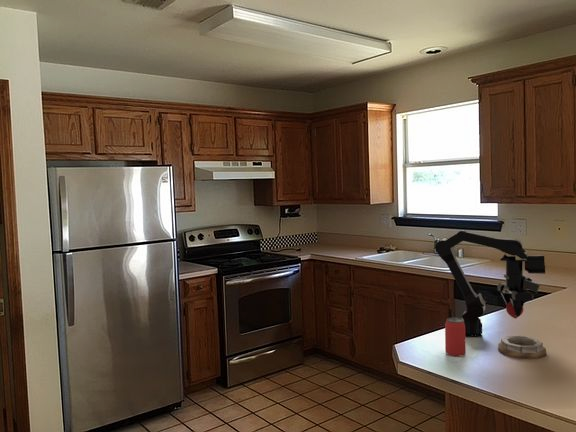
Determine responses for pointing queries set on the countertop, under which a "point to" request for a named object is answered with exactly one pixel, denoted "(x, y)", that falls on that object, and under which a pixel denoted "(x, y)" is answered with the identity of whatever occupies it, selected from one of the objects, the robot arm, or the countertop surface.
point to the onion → (511, 310)
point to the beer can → (455, 337)
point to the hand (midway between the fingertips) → (514, 314)
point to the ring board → (522, 355)
